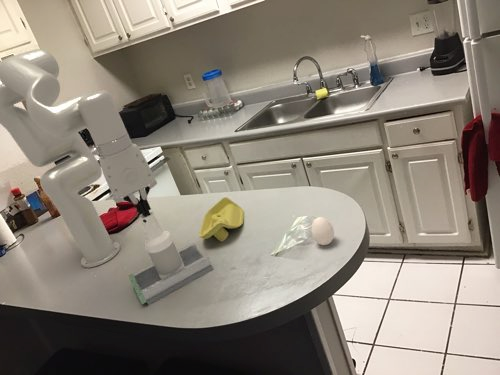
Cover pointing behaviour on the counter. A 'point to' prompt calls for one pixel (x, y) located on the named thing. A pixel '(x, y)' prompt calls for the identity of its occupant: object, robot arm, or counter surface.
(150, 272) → the rail cradle
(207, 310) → the counter surface
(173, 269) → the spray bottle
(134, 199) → the robot arm
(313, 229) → the egg
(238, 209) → the plastic component
